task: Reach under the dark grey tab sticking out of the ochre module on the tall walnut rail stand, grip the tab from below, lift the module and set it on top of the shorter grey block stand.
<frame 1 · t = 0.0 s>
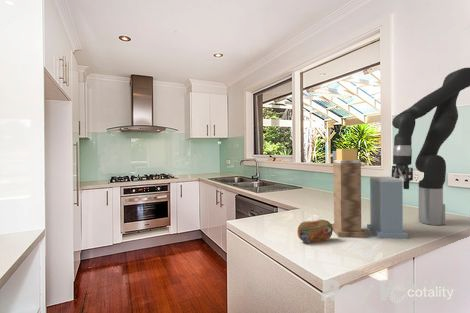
hand: (401, 187, 118), 17 cm above the worktop, tool pointing down, fingers open, 8 cm apart
module: (346, 160, 105), point 32 cm above the worktop, touching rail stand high
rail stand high: (347, 232, 106), on the worktop
grey block stand: (385, 232, 104), on the worktop
tin: (314, 241, 97), on the worktop
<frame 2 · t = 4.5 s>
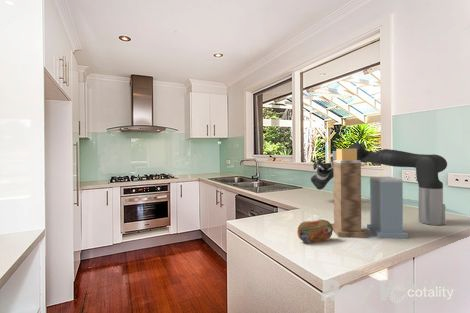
hand: (328, 159, 136), 31 cm above the worktop, tool pointing upward, fingers open, 8 cm apart
nothing on the worktop moved.
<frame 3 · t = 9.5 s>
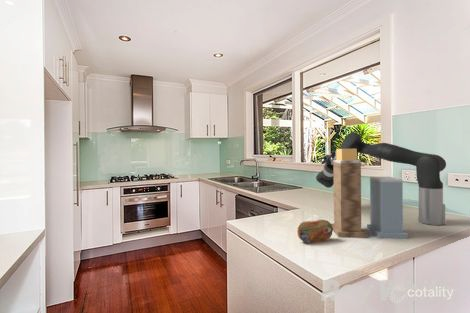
hand: (339, 152, 115), 35 cm above the worktop, tool pointing upward, fingers closed on module, 4 cm apart
module: (346, 160, 105), point 32 cm above the worktop, touching gripper, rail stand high
everything else where it was.
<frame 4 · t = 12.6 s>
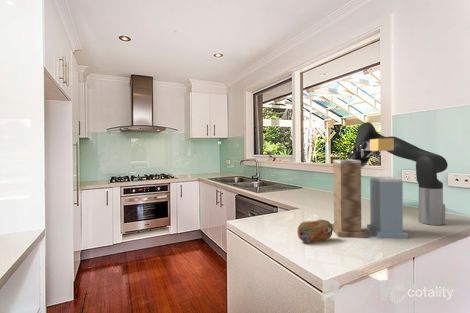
hand: (371, 143, 113), 39 cm above the worktop, tool pointing upward, fingers closed on module, 4 cm apart
module: (381, 150, 103), point 36 cm above the worktop, touching gripper
everything else where it was.
when the fingers open (29 cm above the worktop, at t = 15.9 s): module drops 1 cm, resting on grey block stand.
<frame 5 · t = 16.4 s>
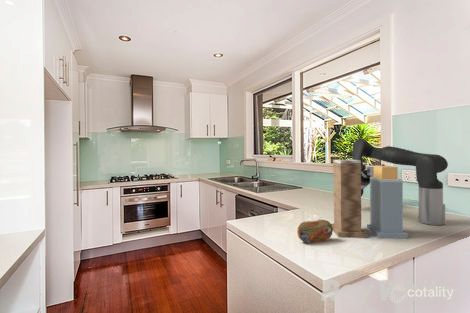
hand: (374, 166, 114), 28 cm above the worktop, tool pointing upward, fingers open, 8 cm apart
module: (385, 177, 104), point 24 cm above the worktop, touching grey block stand
everything else where it was.
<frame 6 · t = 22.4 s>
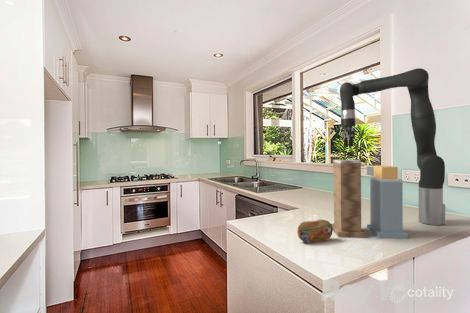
hand: (348, 146, 138), 38 cm above the worktop, tool pointing down, fingers open, 8 cm apart
nothing on the worktop moved.
at the end: module inside the target area on the grey block stand (0.2 cm from its centre), point 24.0 cm above the grey block stand's base; the gripper is holding nothing; module tilted 0° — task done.
